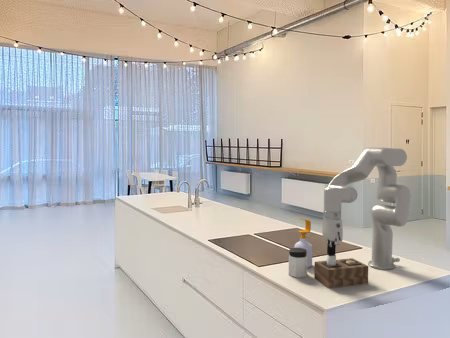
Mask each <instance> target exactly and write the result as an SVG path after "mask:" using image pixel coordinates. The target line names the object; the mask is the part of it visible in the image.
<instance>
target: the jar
mask: <svg viewBox="0 0 450 338" xmlns="http://www.w3.org/2000/svg"><path fill="white" fill-rule="evenodd" d="M307 273H308V268H307V250H306V249H303V248H294V247H291V248H289V255H288V276H290V277H293V278H305V277H306V276H307V275H308V274H307Z"/></svg>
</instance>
